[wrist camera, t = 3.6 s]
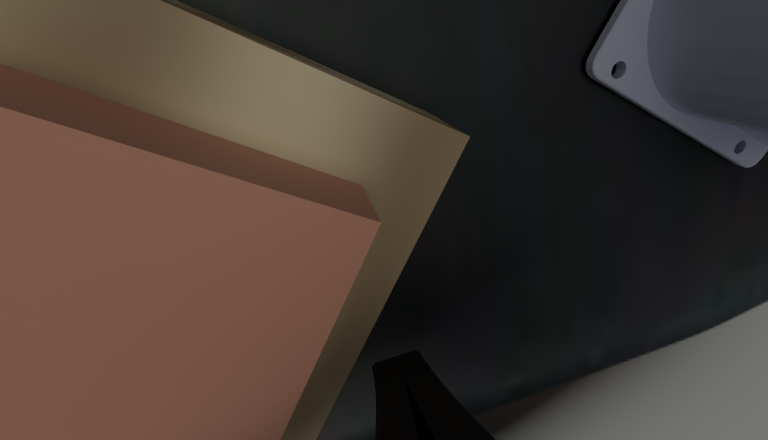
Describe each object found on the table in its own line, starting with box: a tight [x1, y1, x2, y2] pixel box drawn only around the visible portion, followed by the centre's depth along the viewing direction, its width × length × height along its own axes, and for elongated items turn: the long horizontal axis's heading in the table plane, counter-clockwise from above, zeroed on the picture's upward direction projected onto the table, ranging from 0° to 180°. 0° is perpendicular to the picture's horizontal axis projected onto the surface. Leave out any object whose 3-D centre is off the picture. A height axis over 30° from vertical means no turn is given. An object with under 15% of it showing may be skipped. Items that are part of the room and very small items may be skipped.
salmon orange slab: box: [0, 63, 381, 440], centre depth 8 cm, size 8×10×2 cm
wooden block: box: [0, 0, 470, 440], centre depth 10 cm, size 14×14×3 cm
